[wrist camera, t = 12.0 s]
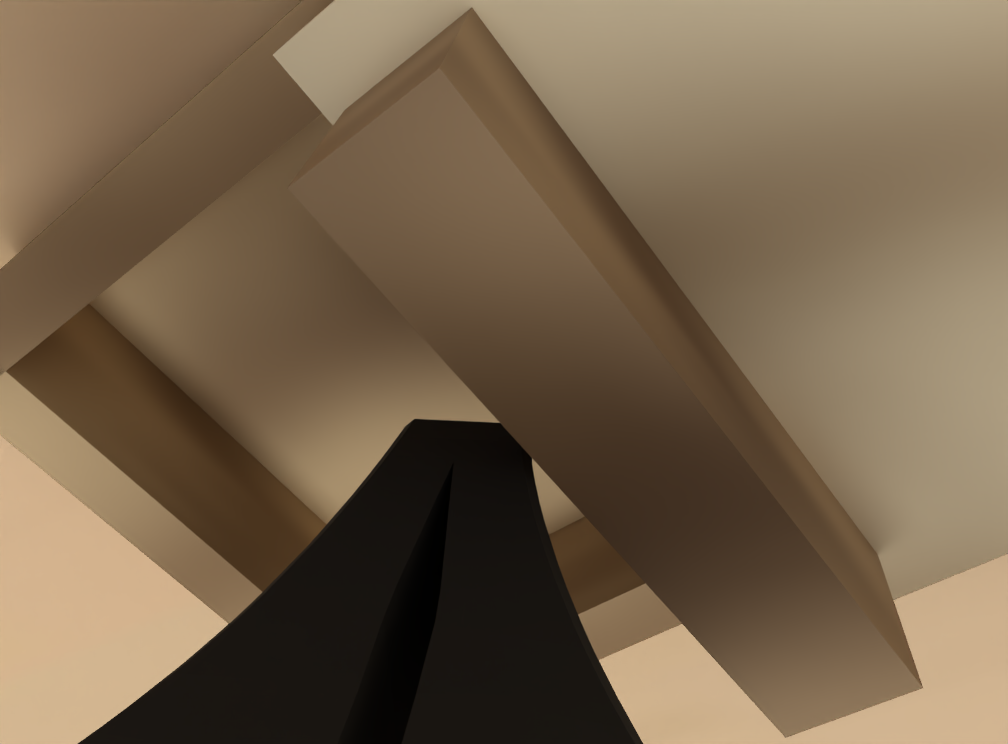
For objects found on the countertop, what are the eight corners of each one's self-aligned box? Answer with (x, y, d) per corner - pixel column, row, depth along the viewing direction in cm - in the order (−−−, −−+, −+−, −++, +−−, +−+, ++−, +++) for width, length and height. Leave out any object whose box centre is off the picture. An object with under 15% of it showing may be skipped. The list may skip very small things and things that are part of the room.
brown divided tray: (16, 258, 16) (-97, 355, 13) (1470, -1032, 8) (1880, -1404, 5) (413, 623, 19) (385, 752, 17) (1655, 6, 12) (1945, 76, 9)
